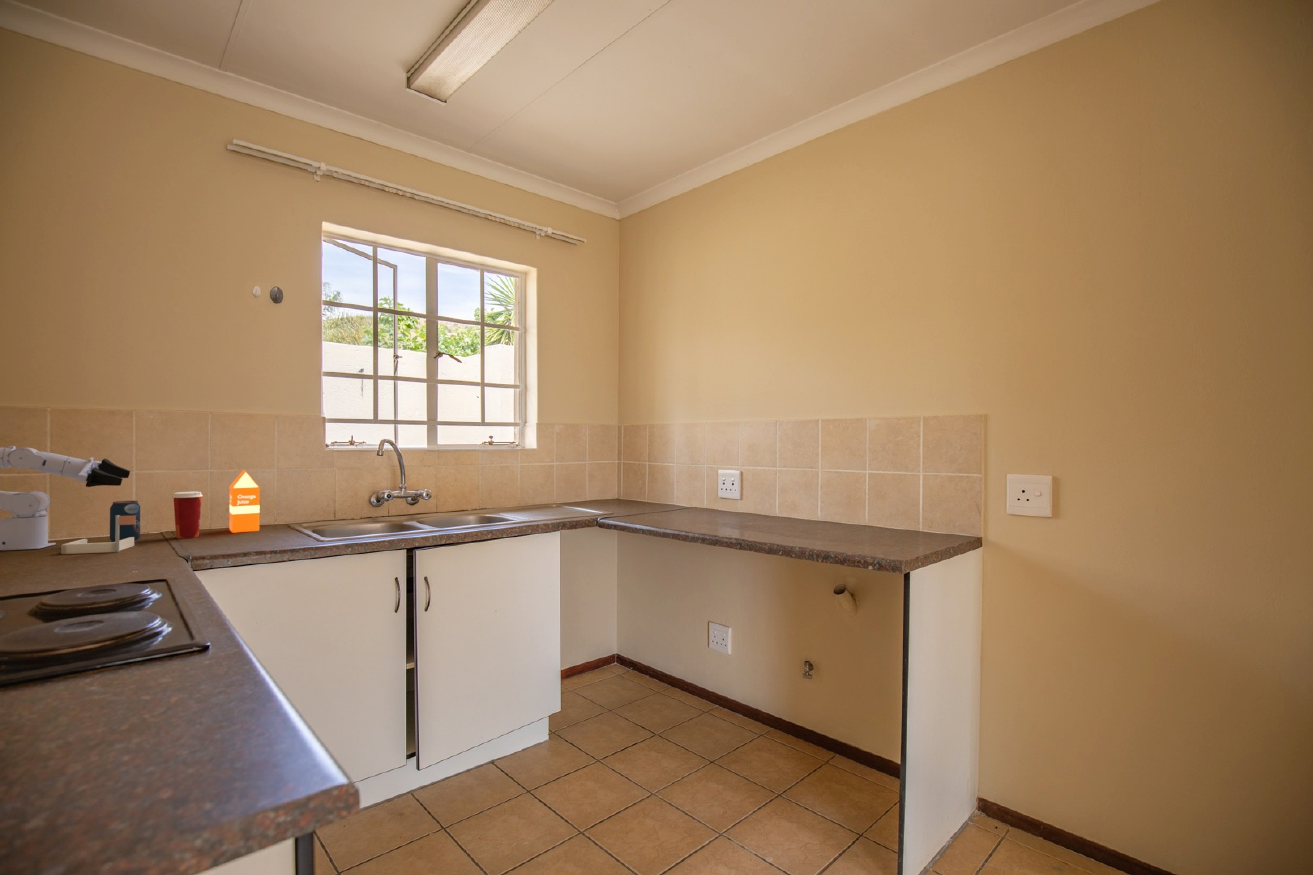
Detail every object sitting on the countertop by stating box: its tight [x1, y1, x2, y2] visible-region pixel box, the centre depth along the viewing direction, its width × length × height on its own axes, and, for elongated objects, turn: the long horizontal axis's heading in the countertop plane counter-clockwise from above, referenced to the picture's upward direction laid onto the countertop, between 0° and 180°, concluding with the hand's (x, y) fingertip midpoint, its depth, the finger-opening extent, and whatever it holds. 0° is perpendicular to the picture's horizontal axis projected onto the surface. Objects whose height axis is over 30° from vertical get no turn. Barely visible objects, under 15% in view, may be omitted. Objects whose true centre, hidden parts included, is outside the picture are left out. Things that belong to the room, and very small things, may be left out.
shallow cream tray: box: [60, 515, 135, 555], centre depth 173 cm, size 17×11×10 cm, turn 107°
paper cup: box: [172, 491, 204, 540], centre depth 196 cm, size 8×8×14 cm
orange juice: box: [229, 470, 261, 534], centre depth 211 cm, size 8×9×20 cm
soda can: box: [109, 500, 141, 543], centre depth 187 cm, size 7×7×12 cm
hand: (125, 478), depth 186 cm, fingers open, 7 cm apart
